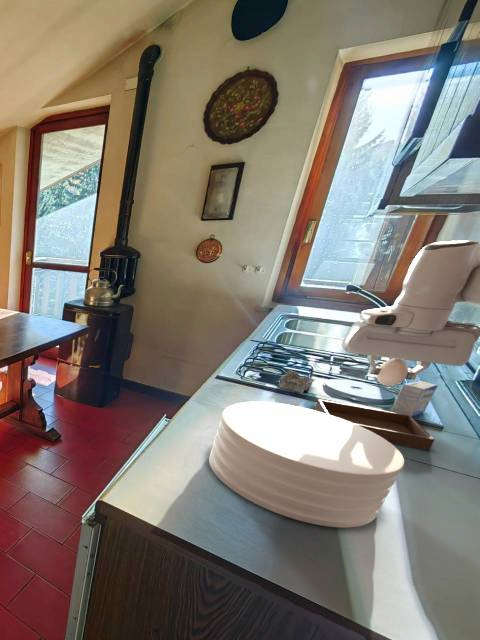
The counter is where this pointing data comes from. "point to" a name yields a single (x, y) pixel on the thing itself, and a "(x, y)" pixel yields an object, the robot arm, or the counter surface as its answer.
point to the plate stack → (304, 463)
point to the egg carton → (295, 382)
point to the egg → (392, 372)
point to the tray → (381, 423)
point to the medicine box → (414, 398)
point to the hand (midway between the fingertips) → (390, 376)
